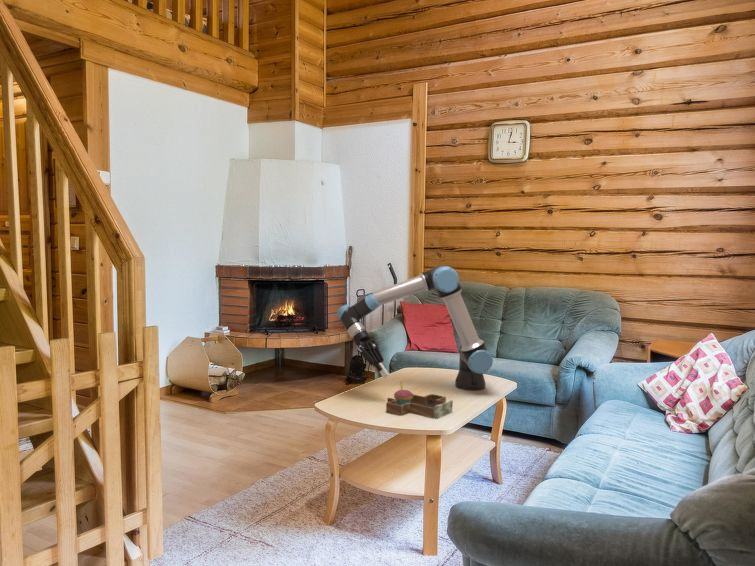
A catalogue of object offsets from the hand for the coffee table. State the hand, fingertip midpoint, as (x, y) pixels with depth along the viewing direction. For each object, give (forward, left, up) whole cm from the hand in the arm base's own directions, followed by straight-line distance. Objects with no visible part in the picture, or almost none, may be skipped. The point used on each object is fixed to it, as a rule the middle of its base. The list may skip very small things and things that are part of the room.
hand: (386, 376), depth 267 cm
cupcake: (-1, +10, -12) cm, 15 cm away
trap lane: (-1, +18, -12) cm, 21 cm away
